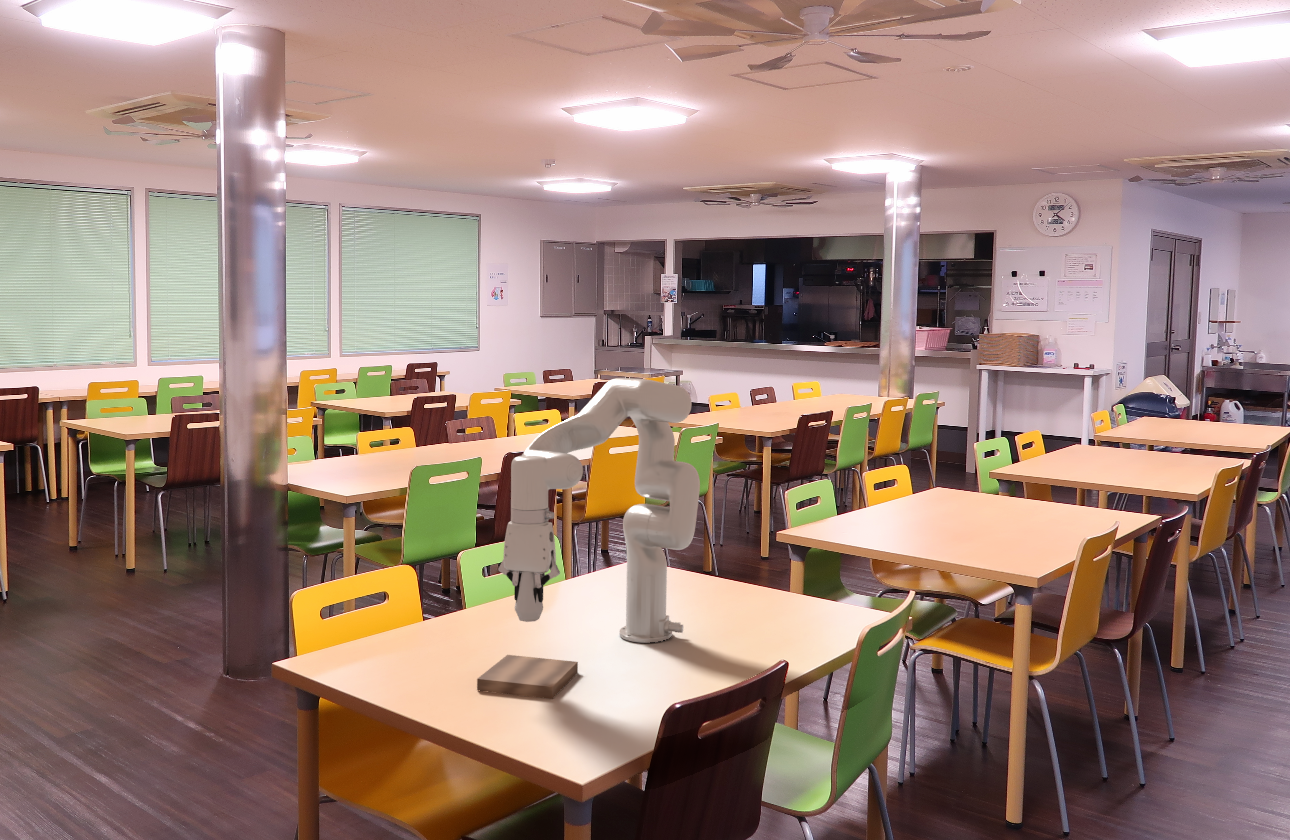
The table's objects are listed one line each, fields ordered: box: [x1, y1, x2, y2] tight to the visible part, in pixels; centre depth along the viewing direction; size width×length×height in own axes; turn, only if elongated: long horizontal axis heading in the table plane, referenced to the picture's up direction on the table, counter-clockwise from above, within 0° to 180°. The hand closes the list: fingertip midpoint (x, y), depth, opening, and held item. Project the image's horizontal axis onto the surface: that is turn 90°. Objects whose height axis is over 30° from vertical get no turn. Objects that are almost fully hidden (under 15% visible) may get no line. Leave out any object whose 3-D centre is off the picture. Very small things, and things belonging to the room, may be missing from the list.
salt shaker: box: [514, 572, 544, 623], centre depth 213 cm, size 6×6×13 cm
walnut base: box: [476, 654, 579, 700], centre depth 215 cm, size 16×16×3 cm
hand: (528, 603), depth 213 cm, fingers closed on salt shaker, 3 cm apart
